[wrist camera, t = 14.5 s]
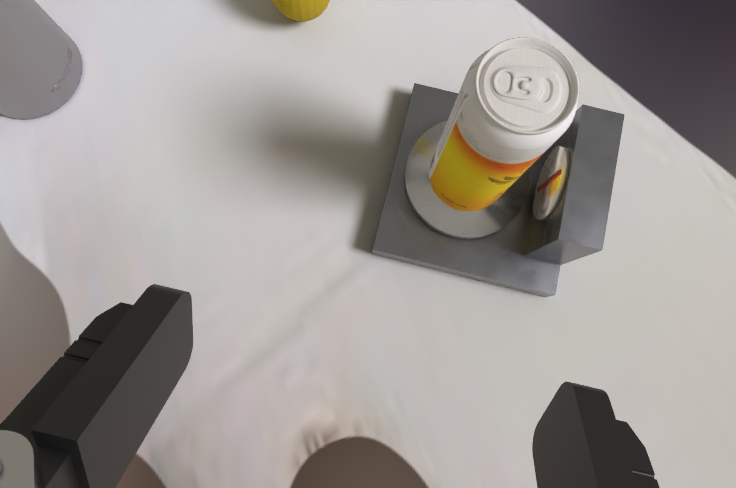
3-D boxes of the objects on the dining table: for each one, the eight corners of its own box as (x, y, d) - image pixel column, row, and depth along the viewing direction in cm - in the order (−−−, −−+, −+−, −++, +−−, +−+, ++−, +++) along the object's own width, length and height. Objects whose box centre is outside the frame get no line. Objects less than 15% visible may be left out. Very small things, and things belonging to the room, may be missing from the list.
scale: (371, 253, 42) (375, 231, 33) (411, 94, 45) (425, 34, 36) (545, 296, 42) (596, 286, 33) (575, 133, 44) (629, 82, 35)
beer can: (497, 220, 39) (580, 150, 25) (421, 206, 39) (459, 129, 25) (507, 148, 40) (592, 41, 26) (433, 135, 40) (476, 20, 26)
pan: (392, 222, 40) (392, 219, 39) (419, 110, 42) (421, 105, 41) (512, 252, 40) (516, 250, 39) (535, 138, 42) (539, 133, 41)
